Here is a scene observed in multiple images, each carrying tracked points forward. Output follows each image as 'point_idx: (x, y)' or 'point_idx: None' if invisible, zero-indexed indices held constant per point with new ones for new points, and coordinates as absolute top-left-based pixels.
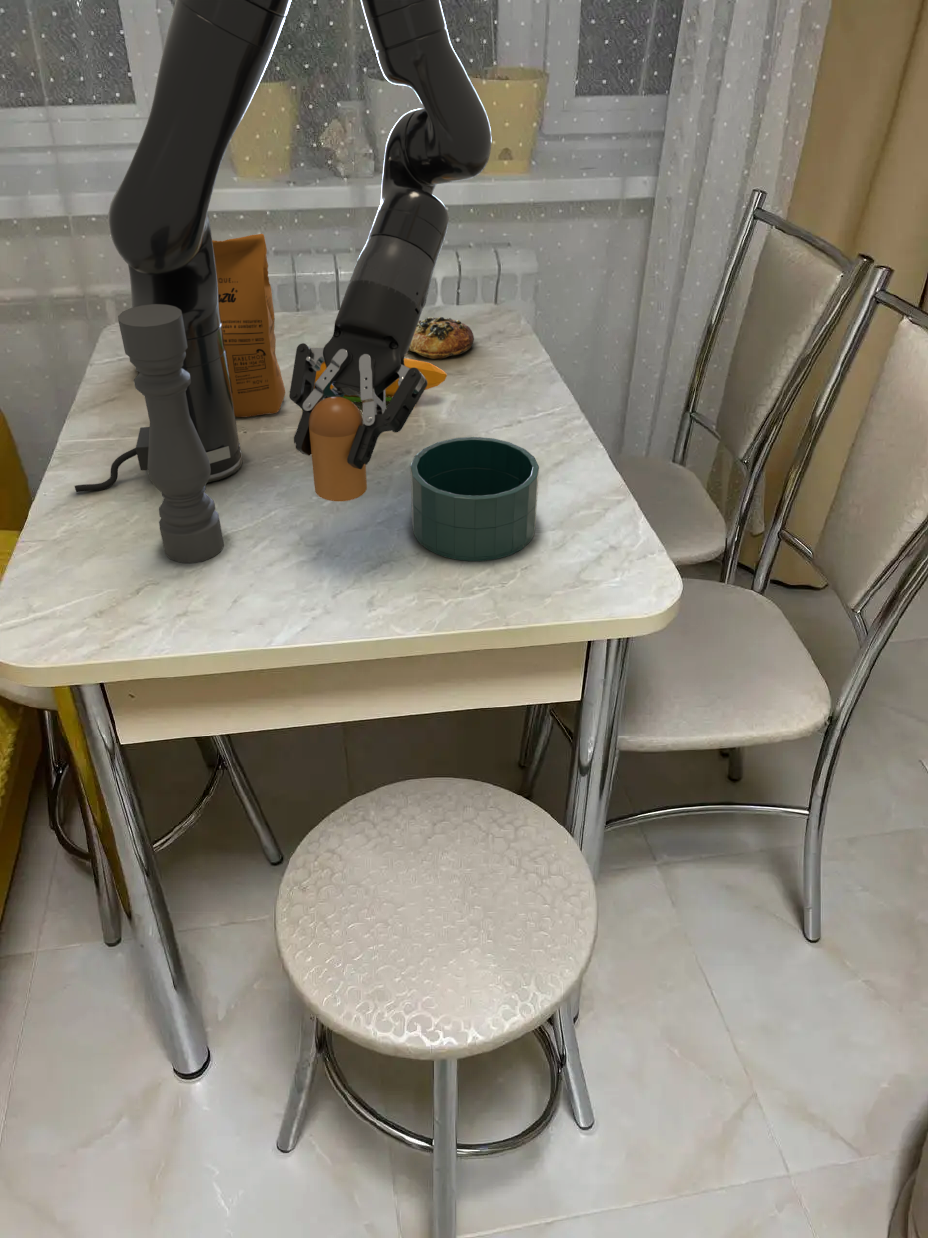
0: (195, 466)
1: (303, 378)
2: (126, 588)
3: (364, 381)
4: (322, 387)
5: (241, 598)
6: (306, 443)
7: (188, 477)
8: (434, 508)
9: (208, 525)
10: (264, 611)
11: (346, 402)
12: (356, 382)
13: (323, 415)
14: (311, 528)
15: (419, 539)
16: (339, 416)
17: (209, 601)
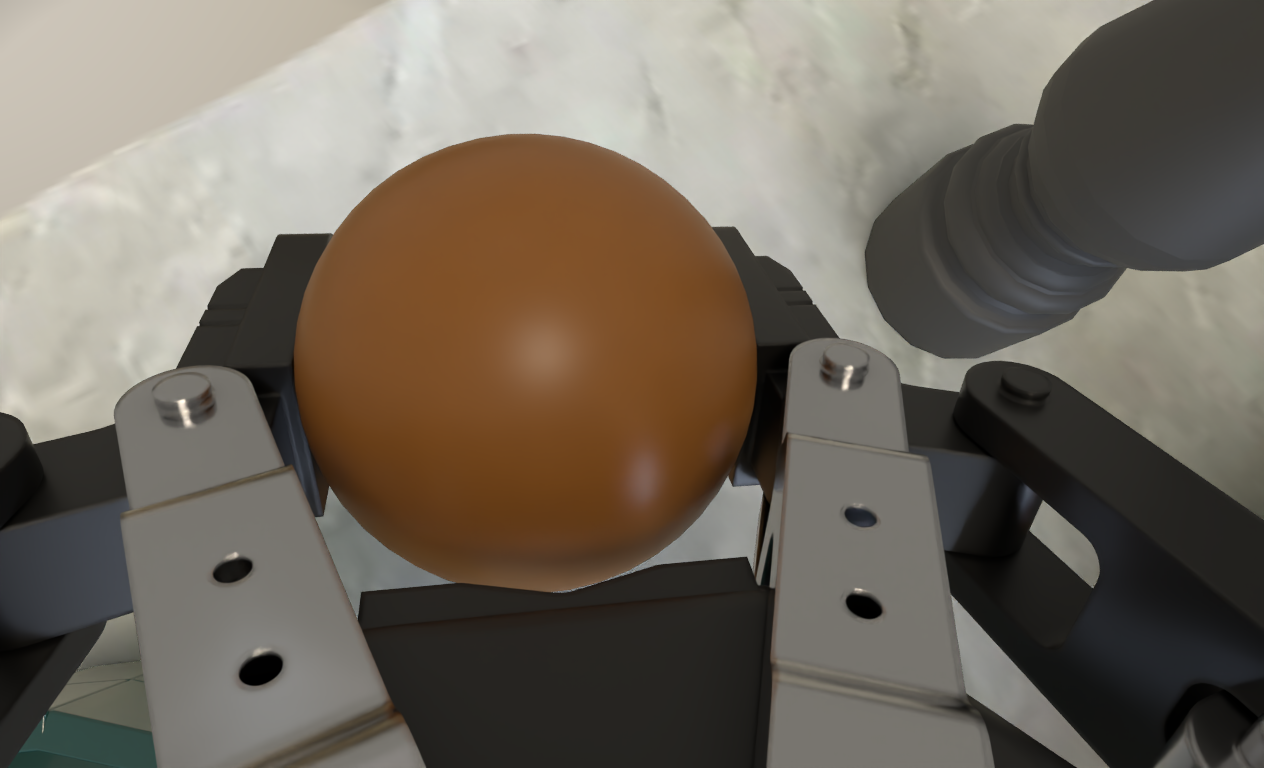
0: (1098, 81)
1: (1107, 512)
2: (945, 32)
3: (285, 630)
4: (810, 438)
5: (649, 123)
6: None
7: (1075, 62)
8: (108, 693)
9: (930, 225)
10: (548, 101)
11: (426, 358)
12: (468, 657)
13: (538, 144)
14: (718, 552)
15: None
16: (394, 194)
17: (717, 75)
